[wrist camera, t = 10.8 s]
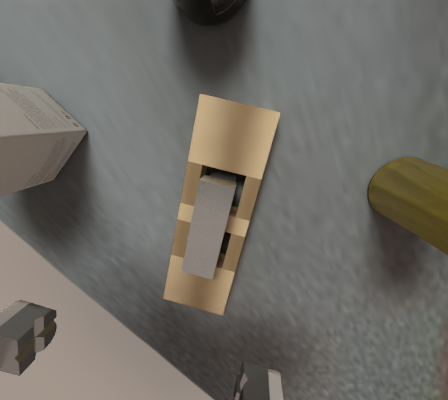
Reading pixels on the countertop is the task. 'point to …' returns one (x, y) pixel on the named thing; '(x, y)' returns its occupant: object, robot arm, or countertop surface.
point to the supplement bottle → (209, 10)
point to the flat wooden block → (239, 216)
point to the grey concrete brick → (208, 223)
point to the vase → (414, 198)
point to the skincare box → (33, 137)
